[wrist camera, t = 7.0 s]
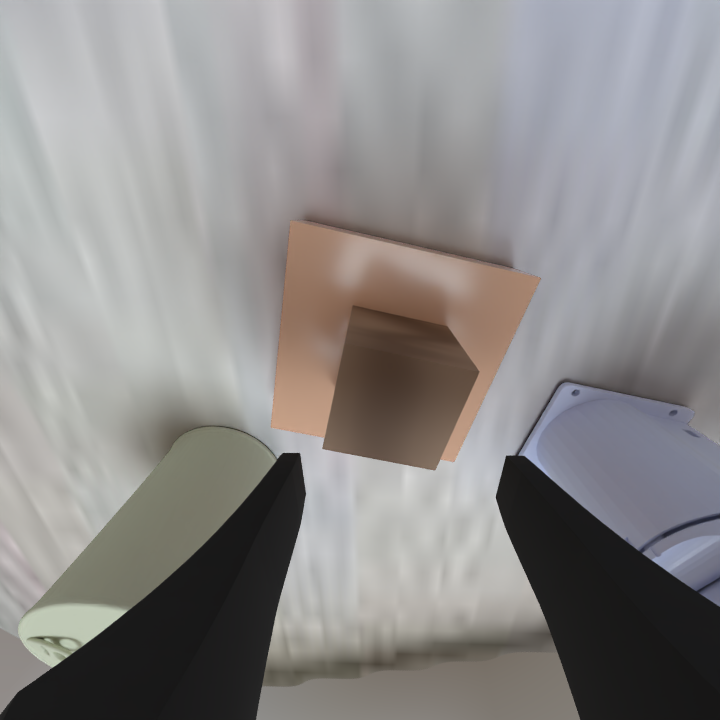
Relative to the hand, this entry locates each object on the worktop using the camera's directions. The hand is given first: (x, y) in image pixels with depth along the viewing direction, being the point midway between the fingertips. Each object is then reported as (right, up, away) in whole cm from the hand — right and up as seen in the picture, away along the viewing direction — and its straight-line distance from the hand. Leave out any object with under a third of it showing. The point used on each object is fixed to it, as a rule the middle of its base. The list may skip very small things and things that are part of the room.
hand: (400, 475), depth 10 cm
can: (-12, -5, +14) cm, 19 cm away
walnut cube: (0, +4, +6) cm, 7 cm away
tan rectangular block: (0, +5, +8) cm, 10 cm away
